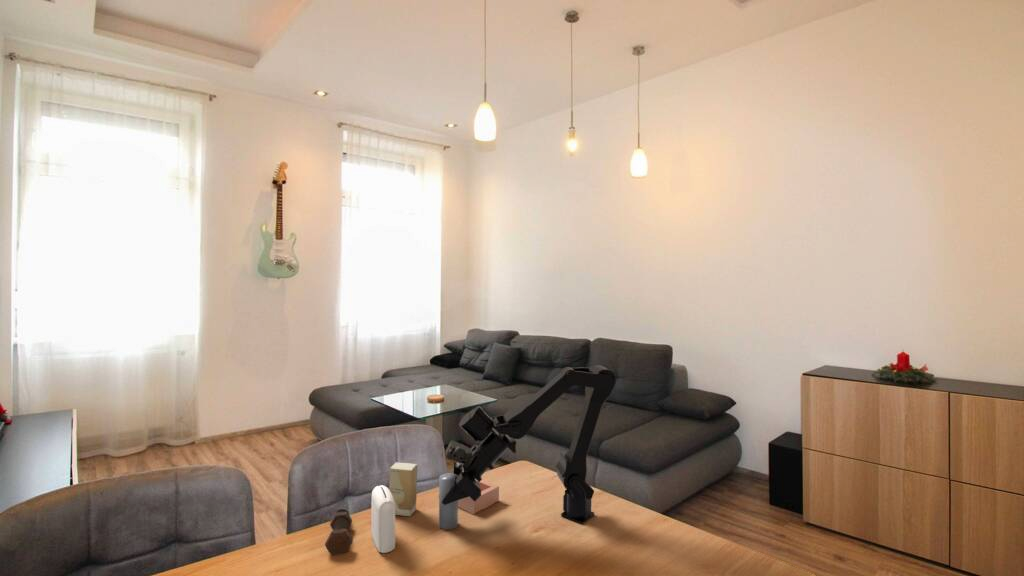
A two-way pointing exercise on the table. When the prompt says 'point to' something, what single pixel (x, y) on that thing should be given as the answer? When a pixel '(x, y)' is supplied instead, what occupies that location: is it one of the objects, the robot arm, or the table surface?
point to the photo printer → (383, 519)
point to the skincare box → (403, 487)
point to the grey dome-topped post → (448, 511)
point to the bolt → (339, 533)
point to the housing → (481, 498)
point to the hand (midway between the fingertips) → (442, 498)
